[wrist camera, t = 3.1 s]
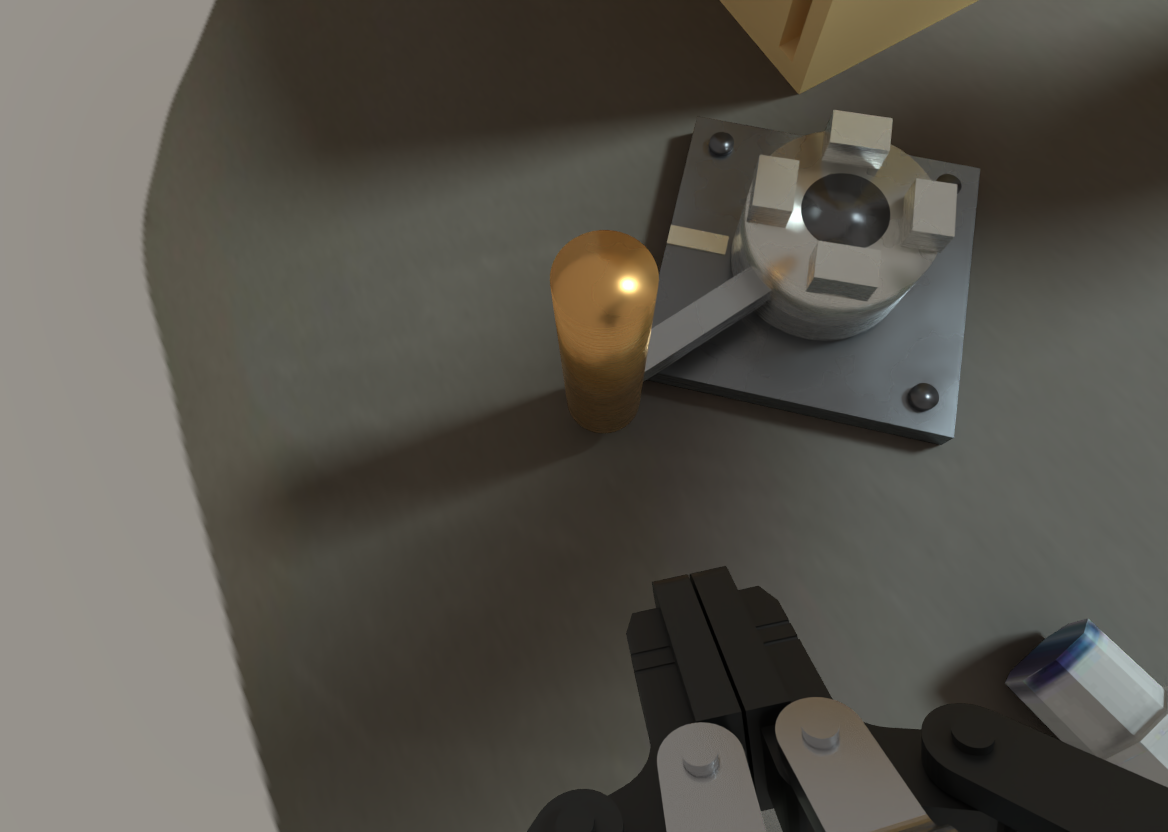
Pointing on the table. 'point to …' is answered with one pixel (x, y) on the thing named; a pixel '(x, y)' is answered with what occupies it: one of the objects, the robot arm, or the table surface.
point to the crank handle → (758, 265)
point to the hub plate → (804, 366)
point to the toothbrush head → (1097, 699)
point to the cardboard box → (832, 31)
